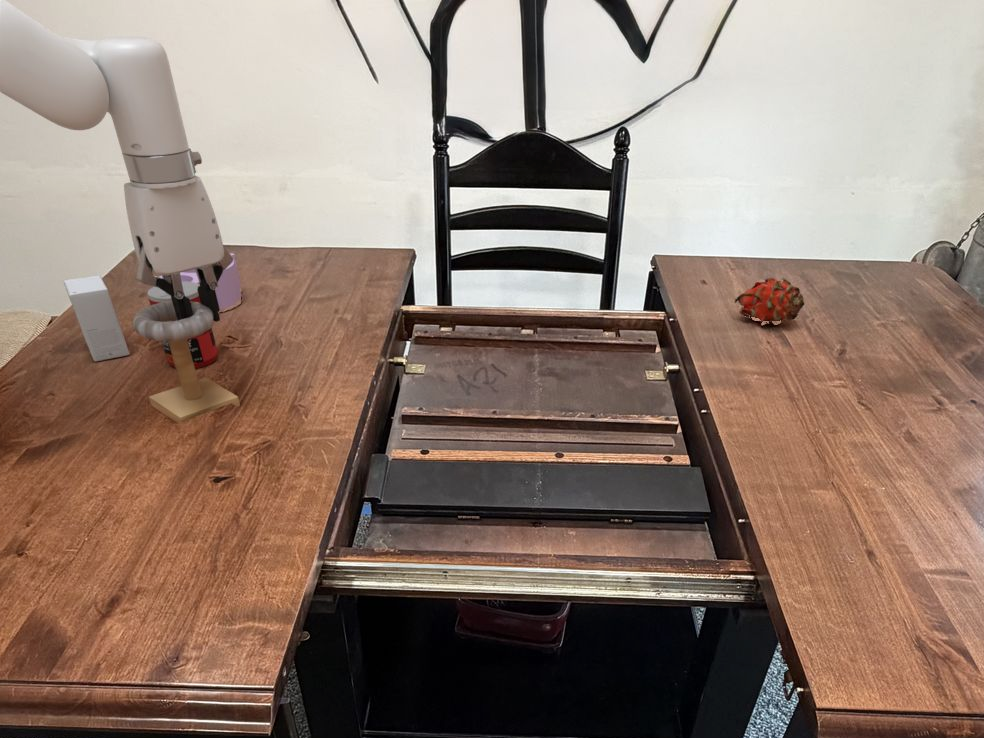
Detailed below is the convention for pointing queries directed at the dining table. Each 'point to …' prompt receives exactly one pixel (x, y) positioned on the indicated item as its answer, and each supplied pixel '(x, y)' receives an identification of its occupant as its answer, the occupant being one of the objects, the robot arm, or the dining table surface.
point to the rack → (190, 390)
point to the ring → (172, 322)
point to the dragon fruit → (771, 301)
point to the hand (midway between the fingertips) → (200, 320)
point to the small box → (97, 317)
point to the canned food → (199, 346)
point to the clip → (221, 284)
